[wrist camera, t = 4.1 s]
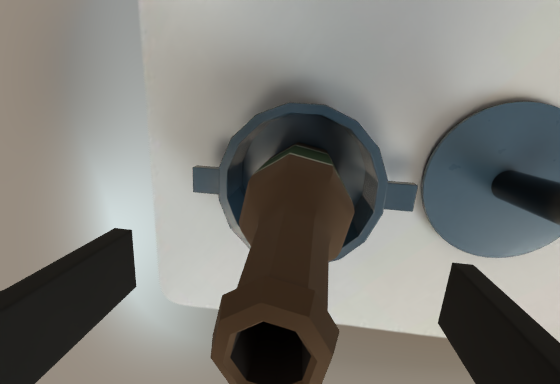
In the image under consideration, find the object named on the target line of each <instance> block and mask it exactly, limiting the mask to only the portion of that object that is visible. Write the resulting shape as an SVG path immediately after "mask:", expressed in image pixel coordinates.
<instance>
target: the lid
mask: <svg viewBox="0 0 560 384" xmlns="http://www.w3.org/2000/svg"><path fill="white" fill-rule="evenodd" d="M422 201H423V207H424V210H425V213H426V216H427V218H428V220H429V222H430V224H431V225H432V226H433V228H434V229H435V231H436V232H437V233H438V234H439V235H440V236H441V237H442V238H443V239H444V240H446V241H447V242H448V243H449V244H451V245H452V246H454V247H456V248H458V249H459V250H462V251H464V252H467V253H470V254H473V255H477V256H482V257H491V258H503V257H512V256H518V255H522V254H526V253H529V252H532V251H535V250H537V249H540V248H542V247H544V246H546V245H548V244H550V243H552V242H553V241H555V240H556V239H558V238H559V237H560V108H557V107H555V106H552V105H548V104H544V103H538V102H511V103H504V104H500V105H496V106H492V107H489V108H487V109H484V110H481V111H479V112H477V113H475V114H473V115H471V116H469V117H468V118H466V119H465V120H463V121H462V122H460V123H459V124H458V125H456V126H455V127H454V128H453V129H452V130H450V131H449V132H448V133H447V135H446V136H445V137H444V138H443V139H442V140H441V141H440V143H439V144H438V145H437V147H436V148H435V150H434V151H433V153H432V155H431V157H430V158H429V161H428V163H427V166H426V168H425V172H424V176H423V181H422Z"/></svg>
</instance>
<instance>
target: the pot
mask: <svg viewBox="0 0 560 384" xmlns="http://www.w3.org/2000/svg"><path fill="white" fill-rule="evenodd" d="M297 142H300V143H303V144H307V145H310V146H314V147H317V148H321V149H325V150H326V151H327V153H328V154H329V156H330V158H331V160H332V162H333V164H334V166H335V167H336V169H337V171H338V173H339V175H340V177H341V179H342V181H343V183H344V185H345V187H346V189H347V192H348V194H349V196H350V198H351V200H352V202H353V206H354V211H355V213H354V215H353V218H352V221H351V224H350V227H349V229H348V232H347V235H346V238H345V240H344V243H343V246H342V249H341V252H340V253H339V255H338V256H337V257H336V259H333V260H331V261H335V260H339V259H341V258H342V257H344V256H345V255H347V254H348V253H350V252H351V251H352V250H354V249H355V248H357V247H358V246H359V245H361V244H362V243H364V242H365V241H366V239H367V238H368V236H369V235H370V233H371V231H372V230H373V228H374V227H375V225H376V224H377V222H378V221H379V219H380V217H381V216H382V214H383V210H384V209H389V210H400V211H411V212H412V211H413V208H414V202H415V197H416V192H417V187H418V186H417V185H416V184H415V183H408V182H396V181H388V179H387V176H386V172H385V168H384V164H383V161H382V157H381V153H380V149H379V147H378V146H377V145H376V144H375V142H374V141H373V140H372V139H371V138H370V136H369V135H368V134H367V133H366V131H365V130H364V129H363V128H362V126H361V125H360V124H359V123H358V122H357V121H356V120H354V119H352V118H350V117H348V116H346V115H344V114H342V113H340V112H338V111H336V110H334V109H332V108H330V107H329V106H327V105H322V104H304V103H287V104H284V105H281V106H278V107H276V108H273V109H270V110H268V111H265V112H262V113H259V114H257V115H255V116H254V117H253V118H252V119H251V120H250V121H249V122H248V123H247V124H246V125H245V126H244V127H243V128H242V129H241V130H239V131H238V132H237V133H236V134H235V135H234V136H233V137H232V138H231V140H230V143H229V145H228V147H227V150H226V152H225V154H224V157H223V159H222V162H221V164H220V166H219V167H209V166H195V167H193V192H198V193H210V194H219V201H220V204H221V206H222V209H223V211H224V214H225V216H226V219H227V221H228V224H229V226H230V228H231V229H232V230H233V231H234V233H235V234H236V235H237V236H238V237H239V238H240V239H241V240H242V241H243V242H244V243H245V244H246V245H247V246H248V247H249V249H250V248H251V246H250V244H249V243H248V241H247V240H246V238H245V236H244V235H243V233H242V232H241V229H240V225H239V219H240V215H241V211H242V206H243V202H244V198H245V194H246V190H247V185H248V181H249V180H250V178H251V176H252V175H253V174H254V173H255V172H256V171H257V170H258V169H259V168H260V167H261V166H262V165H263V164H264V163H265V162H266V161H268V160H269V159H270V158H271V157H272V156H274V155H276V154H278V153H279V152H281V151H283V150H285V149H286V148H288V147H290V146H292V145H293V144H295V143H297ZM331 261H329V262H331Z"/></svg>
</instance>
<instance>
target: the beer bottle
mask: <svg viewBox="0 0 560 384" xmlns="http://www.w3.org/2000/svg"><path fill="white" fill-rule="evenodd" d="M354 213H355V211H354V206H353V202H352V200H351V198H350V196H349V194H348V192H347V189H346V187H345V185H344V183H343V181H342V179H341V177H340V175H339V173H338V171H337V169H336V167H335V166H334V164H333V162H332V160H331V158H330V156H329V154H328V153H327V151H326V150H325V149H321V148H317V147H314V146H310V145H307V144H303V143H300V142H297V143H295V144H293V145H292V146H290V147H288V148H286V149H285V150H283V151H281V152H279V153H278V154H276V155H274V156H272V157H271V158H270V159H269V160H268V161H266V162H265V163H264V164H263V165H262V166H261V167H260V168H259V169H258V170H257V171H256V172H255V173H254V174H253V175H252V176H251V178H250V180H249V181H248V185H247V190H246V194H245V198H244V202H243V206H242V211H241V215H240V219H239V225H240V229H241V232H242V233H243V235H244V236H245V238H246V240H247V241H248V243H249V244H250V246H251V248H250V251H249V254H248V257H247V260H246V263H245V266H244V269H243V272H242V275H241V278H240V281H239V284H238V287H237V289H235V290H233V291H231V292H229V293H227V294H224V295H222V299H221V303H220V307H219V312H218V316H217V320H216V324H215V329H214V333H213V340H212V350H211V359H212V360H213V362H214V363H215V364H216V366H217V367H218V369H219V370H220V371H221V373H222V374H223V376H224V377H225V378H226V380H227V381H228V383H229V384H322V381H323V379H324V376H325V374H326V372H327V369H328V367H329V364H330V361H331V359H332V356H333V353H334V350H335V346H336V342H337V338H338V334H339V329H338V328H337V326H336V324H335V323H334V321H333V319H332V318H331V316H330V314H329V313H328V311H327V309H328V262H329V261H331V260H333V259H336V257H337V256H338V255H339V253H340V252H341V249H342V246H343V243H344V240H345V238H346V235H347V232H348V229H349V227H350V224H351V221H352V218H353V215H354Z"/></svg>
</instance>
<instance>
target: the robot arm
mask: <svg viewBox="0 0 560 384" xmlns="http://www.w3.org/2000/svg"><path fill="white" fill-rule="evenodd" d="M135 287H136V279H135V266H134V253H133V241H132V230H126V229H118V228H114V229H113V230H111V231H109V232H107V233H105V234H104V235H102V236H100V237H98V238H96V239H95V240H93V241H91V242H89V243H87V244H86V245H84V246H82V247H80V248H78V249H77V250H75V251H73V252H71V253H70V254H68V255H66V256H64V257H62V258H60V259H59V260H57V261H55V262H53V263H52V264H50V265H48V266H46V267H44V268H43V269H41V270H39V271H37V272H35V273H34V274H32V275H30V276H28V277H26V278H25V279H23V280H21V281H19V282H17V283H16V284H14V285H12V286H10V287H9V288H7V289H5V290H2V291H0V384H35V383H36V382H37V381H38V380H39V379H40V378H41V377H42V376H43V375H44V374H45V373H46V372H47V371H49V369H50V368H52V367H53V366H54V365H55V364H56V363H57V362H58V361H59V360H60V359H61V358H62V357H63V356H64V355H65V354H66V353H67V352H68V351H69V350H70V349H71V348H73V346H74V345H76V344H77V343H78V342H79V341H80V340H81V339H82V338H83V337H84V336H85V335H86V334H87V333H88V332H89V331H90V330H91V329H92V328H93V327H94V326H96V325H97V324H98V323H99V322H100V321H101V320H102V319H103V318H104V317H105V316H106V315H107V314H108V313H109V312H110V311H111V310H112V309H113V308H114V307H115V306H116V305H117V304H118V303H120V302H121V300H123V299H124V298H125V297H126V296H127V295H128V294H129V293H130V292H131V291H132V290H133V289H134V288H135ZM438 324H439V325H440V327H441V329H442V330H443V332H444V334H445V335H446V337H447V338H448V340H449V342H450V343H451V345H452V346H453V348H454V350H455V351H456V353H457V354H458V356H459V358H460V359H461V361H462V363H463V364H464V366H465V367H466V369H467V371H468V372H469V374H470V376H471V377H472V379H473V380H474V382H475V383H476V384H560V343H559V342H558V341H557V340H556V339H555V338H554V337H552V336H551V335H550V334H549V333H548V332H547V331H546V330H545V329H544V328H543V327H541V326H540V325H539V324H538V323H537V322H536V321H535V320H534V319H533V318H531V317H530V316H529V315H528V314H527V313H526V312H525V311H524V310H523V309H522V308H520V307H519V306H518V305H517V304H516V303H515V302H514V301H513V300H512V299H510V298H509V297H508V296H507V295H506V294H505V293H504V292H503V291H502V290H500V289H499V288H498V287H497V286H496V285H495V284H494V283H493V282H492V281H491V280H489V279H488V278H487V277H486V276H485V275H484V274H483V273H482V272H481V271H479V270H478V269H477V268H476V267H475V266H474V265H470V264H460V263H452V266H451V271H450V275H449V279H448V283H447V287H446V291H445V296H444V300H443V304H442V308H441V312H440V316H439V321H438Z"/></svg>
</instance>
